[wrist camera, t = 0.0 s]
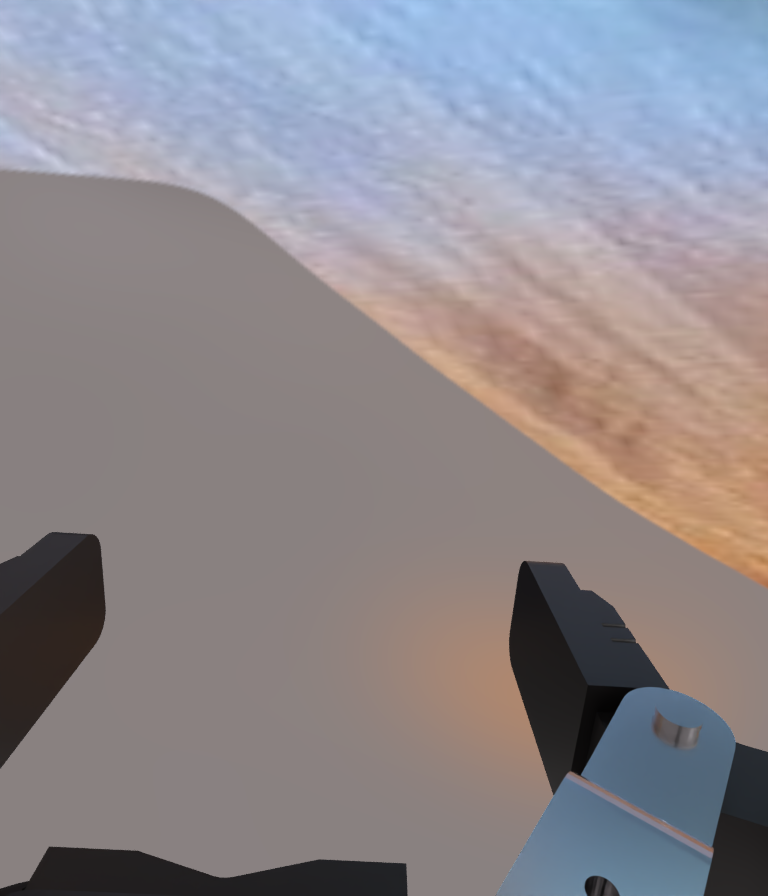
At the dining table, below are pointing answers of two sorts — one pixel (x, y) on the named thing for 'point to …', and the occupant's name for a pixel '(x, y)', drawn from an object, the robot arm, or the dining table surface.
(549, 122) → the dining table surface
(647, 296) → the dining table surface
